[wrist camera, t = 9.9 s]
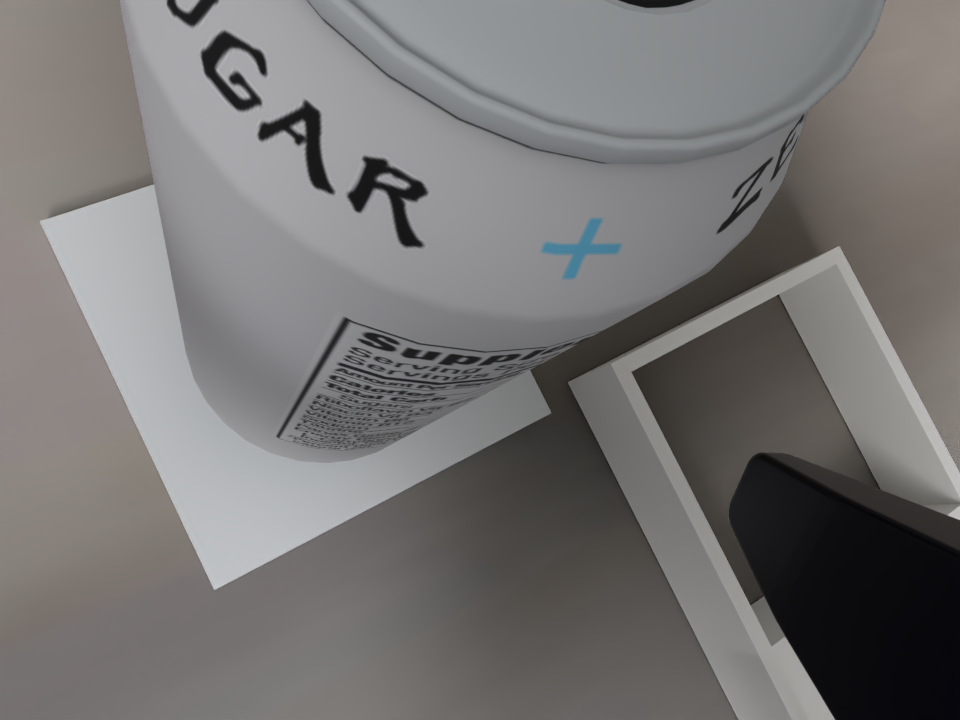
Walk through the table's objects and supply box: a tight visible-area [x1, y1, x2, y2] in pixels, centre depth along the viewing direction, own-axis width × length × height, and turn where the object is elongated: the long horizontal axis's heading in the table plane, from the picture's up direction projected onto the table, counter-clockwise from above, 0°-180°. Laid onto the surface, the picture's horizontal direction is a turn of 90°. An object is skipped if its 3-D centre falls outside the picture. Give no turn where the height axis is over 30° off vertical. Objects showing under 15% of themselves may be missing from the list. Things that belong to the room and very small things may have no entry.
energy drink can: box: [119, 0, 886, 463], centre depth 12 cm, size 6×6×15 cm
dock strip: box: [568, 246, 960, 720], centre depth 21 cm, size 20×8×3 cm, turn 29°
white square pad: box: [40, 185, 551, 590], centre depth 19 cm, size 9×9×1 cm
